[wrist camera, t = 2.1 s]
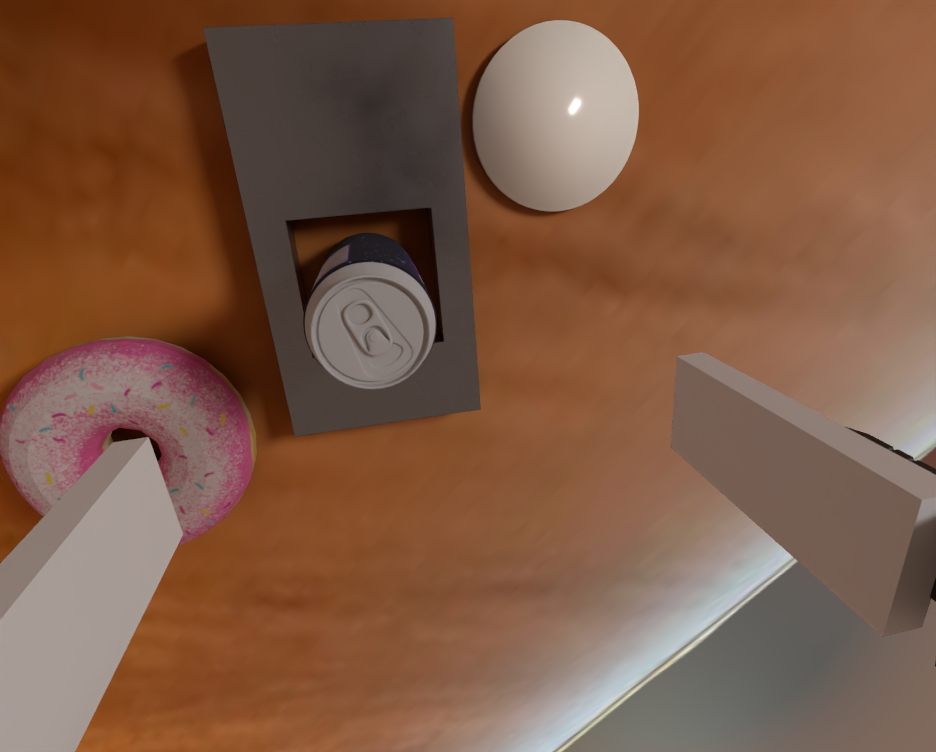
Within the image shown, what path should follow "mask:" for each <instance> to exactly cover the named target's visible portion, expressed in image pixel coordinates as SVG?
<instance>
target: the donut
mask: <svg viewBox="0 0 936 752" xmlns="http://www.w3.org/2000/svg"><path fill="white" fill-rule="evenodd" d="M118 428H126V429H133V430H140V431H142V432H143V433H145V434H146V435H147V436H149V437H150V438H152V439H153V440H155V441H156V442H157V443H158V446H159V448H160V451H161V453H162V455H161V457H160V460H159V461H157V462H158V465H159V468H160V470H161V473H162V476H163V479H164V482H165V484H166V487H167V490H168V493H169V496H170V498H171V501H172V504H173V507H174V510H175V512H176V515H177V518H178V521H179V524H180V527H181V529H182V532H183V536H182V538H181V540H180V542H179V544H178V546H179V545H181V544H183V543H185V542H187V541H189V540H191V539H193V538H195V537H197V536H199V535H201V534H203V533H204V532H206V531H208V530H209V529H210V528H212V527H213V526H214V525H216V524H217V523H218V522H219V521H221V520H222V519H223V518H225V517H226V516H227V514H228V513H229V512H230V511H231V510H232V509H233V507H234V506H235V505H236V504H237V503H238V502H239V500H240V499H241V497H242V495H243V493H244V491H245V489H246V487H247V485H248V484H249V481H250V478H251V475H252V472H253V467H254V463H255V459H256V454H257V453H256V433H255V429H254V425H253V422H252V418H251V415H250V412H249V410H248V409H247V407H246V405H245V403H244V401H243V399H242V397H241V396H240V394H239V392H238V391H237V390H236V389H235V388H234V386H233V385H232V384H231V383H230V382H229V380H228V379H227V378H226V377H225V376H224V375H223V374H222V373H221V372H220V371H218V370H217V369H216V368H215V367H213V366H212V365H211V364H210V363H209V362H207V361H206V360H205V359H203V358H201V357H199V356H198V355H196V354H194V353H192V352H190V351H188V350H186V349H184V348H183V347H180V346H177V345H173V344H170V343H167V342H164V341H160V340H157V339H149V338H140V337H131V336H128V337H114V338H102V339H98V340H94V341H90V342H86V343H82V344H78V345H75V346H73V347H71V348H69V349H67V350H64V351H62V352H60V353H58V354H56V355H54V356H52V357H50V358H48V359H46V360H44V361H42V362H41V363H40V364H39V365H37V366H36V367H35V368H33V369H32V370H31V371H30V372H28V373H27V374H26V375H25V376H23V377H22V378H21V380H20V381H19V382H18V384H17V385H16V386H15V388H14V389H13V390H12V392H11V393H10V394H9V396H8V398H7V401H6V404H5V406H4V409H3V412H2V415H1V419H0V454H1V457H2V461H3V464H4V468H5V470H6V472H7V473H8V475H9V477H10V479H11V480H12V482H13V484H14V486H15V487H16V489H17V490H18V491H19V493H20V494H21V495H22V496H23V497H24V499H25V500H26V501H27V502H28V504H29V505H30V506H31V507H32V508H33V509H34V510H35V511H37V512H38V513H39V514H40V515H41V516H42V517H44V516H45V515H46V514H47V513H48V512H49V511H50V510H51V509H52V507H53V506H54V505H55V504H56V503H57V502H58V501H59V500H60V499H61V498H62V497H63V496H64V494H65V493H66V492H67V491H68V490H69V489H70V488H71V487H72V486H73V485H74V484H75V483H76V482H77V480H78V479H79V478H80V477H81V476H82V475H83V474H84V473H85V472H86V471H87V470H88V469H89V468H90V466H91V465H92V464H93V463H94V462H95V461H96V460H97V459H98V458H99V457H100V456H101V455H102V454H103V452H104V451H105V450H106V449H107V448H108V447H109V446H110V445H111V444H112V443H113V440H112V437H111V434H112V431H113V430H115V429H118Z"/></svg>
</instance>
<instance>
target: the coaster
mask: <svg viewBox="0 0 936 752" xmlns="http://www.w3.org/2000/svg"><path fill="white" fill-rule="evenodd" d="M638 117H639V104H638V96H637V89H636V85H635V81H634V78H633V75H632V73H631V70H630V68H629V66H628V64H627V62H626V60H625V58H624V57H623V55H622V54H621V52H620V51H619V50H618V48H617V47H616V46H615V45H614V44H613V43H612V42H611V41H610V40H609V39H608V38H607V37H605V36H604V35H603V34H602V33H600V32H599V31H597V30H595V29H593V28H592V27H589V26H587V25H584V24H582V23H578V22H573V21H565V20H555V21H547V22H543V23H539V24H536V25H533V26H531V27H529V28H527V29H525V30H523V31H521V32H520V33H518V34H517V35H515V36H514V37H512V38H511V39H510V40H509V41H508V42H507V43H506V44H504V45H503V46H502V47H501V48H500V49H499V51H498V52H497V53H496V54H495V55H494V56H493V58H492V59H491V61H490V62H489V64H488V65H487V67H486V68H485V70H484V72H483V74H482V76H481V78H480V81H479V84H478V87H477V89H476V93H475V98H474V102H473V110H472V133H473V141H474V145H475V149H476V153H477V156H478V158H479V161H480V164H481V165H482V167H483V169H484V171H485V173H486V175H487V176H488V177H489V179H490V180H491V182H492V183H493V184H494V185H495V186H496V187H497V188H498V190H499V191H501V192H502V193H503V194H504V195H505V196H507V197H508V198H509V199H511V200H513V201H514V202H516V203H518V204H520V205H523V206H525V207H528V208H532V209H535V210H541V211H563V210H569V209H572V208H575V207H579V206H581V205H583V204H585V203H587V202H589V201H591V200H592V199H594V198H595V197H597V196H598V195H600V194H601V193H602V192H603V191H604V190H606V189H607V188H608V187H609V185H610V184H611V183H612V182H613V181H614V180H615V179H616V177H617V176H618V175H619V173H620V172H621V170H622V169H623V167H624V165H625V164H626V162H627V160H628V157H629V155H630V153H631V150H632V147H633V144H634V141H635V137H636V132H637V127H638Z"/></svg>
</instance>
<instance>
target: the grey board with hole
mask: <svg viewBox="0 0 936 752" xmlns="http://www.w3.org/2000/svg"><path fill="white" fill-rule="evenodd" d="M203 30H204V34H205V39H206V43H207V47H208V52H209V56H210V61H211V65H212V70H213V74H214V79H215V83H216V88H217V92H218V96H219V101H220V105H221V110H222V114H223V119H224V123H225V128H226V132H227V136H228V141H229V145H230V150H231V154H232V159H233V163H234V168H235V172H236V177H237V181H238V185H239V190H240V194H241V199H242V203H243V208H244V212H245V217H246V221H247V226H248V230H249V234H250V239H251V243H252V248H253V252H254V257H255V261H256V266H257V270H258V275H259V279H260V283H261V288H262V292H263V297H264V301H265V306H266V310H267V315H268V319H269V323H270V328H271V332H272V337H273V341H274V346H275V350H276V355H277V359H278V364H279V368H280V372H281V377H282V381H283V386H284V390H285V395H286V399H287V404H288V408H289V413H290V417H291V421H292V426H293V430H294V435H295V436H302V435H309V434H315V433H322V432H329V431H336V430H343V429H350V428H357V427H363V426H370V425H377V424H384V423H391V422H398V421H404V420H411V419H418V418H425V417H432V416H439V415H445V414H452V413H459V412H466V411H473V410H480V409H481V408H480V394H479V379H478V365H477V351H476V337H475V323H474V309H473V295H472V281H471V267H470V252H469V238H468V224H467V210H466V196H465V182H464V168H463V154H462V139H461V125H460V111H459V97H458V83H457V69H456V55H455V41H454V26H453V18H434V19H409V20H384V21H359V22H334V23H309V24H284V25H259V26H234V27H209V28H203ZM420 208H428V216H429V226H430V236H431V246H432V257H433V267H434V277H435V287H436V298H437V308H438V318H439V328H440V333H436V337H435V341H434V344H433V347H432V349H431V351H430V353H429V355H428V356H427V358H426V359H425V361H424V362H423V363H422V364H421V366H420V367H419V368H418V369H417V370H416V371H415V372H414V373H413V374H412V375H410V376H409V377H408V378H407V379H405V380H403V381H402V382H400V383H398V384H395V385H393V386H390V387H386V388H381V389H362V388H357V387H353V386H350V385H347V384H345V383H343V382H341V381H339V380H337V379H336V378H335V377H333V376H332V375H331V374H330V373H328V372H327V371H326V370H325V369H324V368H323V367H322V366H321V365H320V364H319V363H318V362H317V360H316V359H315V358H314V356H313V354H312V353H311V351H310V349H309V347H308V345H307V342H306V339H305V335H304V328H303V316H304V309H305V305H306V302H307V301H306V296H305V291H304V286H303V281H302V275H301V270H300V265H299V260H298V255H297V250H296V245H295V239H294V234H293V229H292V224H291V220H298V219H309V218H320V217H331V216H342V215H353V214H364V213H375V212H386V211H397V210H408V209H420Z"/></svg>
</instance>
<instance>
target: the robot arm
mask: <svg viewBox="0 0 936 752" xmlns="http://www.w3.org/2000/svg"><path fill="white" fill-rule="evenodd" d="M671 448H672V449H673V450H674V451H675V452H677V453H678V454H679V455H680V456H681V457H682V458H683V459H684V460H686V461H687V462H688V463H689V464H690V465H691V466H692V467H693V468H694V469H696V470H697V471H698V472H699V473H700V474H701V475H702V476H703V477H705V478H706V479H707V480H708V481H709V482H710V483H711V484H712V485H713V486H715V487H716V488H717V489H718V490H719V491H720V492H721V493H722V494H724V495H725V496H726V497H727V498H728V499H729V500H730V501H731V502H733V503H734V504H735V505H736V506H737V507H738V508H739V509H740V510H741V511H743V512H744V513H745V514H746V515H747V516H748V517H749V518H750V519H752V520H753V521H754V522H755V523H756V524H757V525H758V526H759V527H760V528H762V529H763V530H764V531H765V532H766V533H767V534H768V535H769V536H771V537H772V538H773V539H774V540H775V541H776V542H777V543H778V544H779V545H781V546H782V547H783V548H784V549H785V550H786V551H787V552H788V553H790V554H791V555H792V556H793V557H794V558H795V559H796V560H797V561H799V562H800V563H801V564H802V565H803V566H804V567H805V568H806V569H807V570H809V571H810V572H811V573H812V574H813V575H814V576H815V577H816V578H818V579H819V580H820V581H821V582H822V583H823V584H824V585H825V586H826V587H828V588H829V589H830V590H831V591H832V592H833V593H835V594H836V595H837V596H838V597H839V598H840V599H841V600H842V601H843V602H844V603H846V604H847V605H848V606H849V607H850V608H851V609H852V610H853V611H854V612H856V613H857V614H858V615H859V616H860V617H861V618H862V619H863V620H865V621H866V622H867V623H868V624H869V625H870V626H871V627H873V628H874V629H875V630H876V631H877V632H878V633H879V634H880V635H881V636H882V637H884V636H888V635H892V634H896V633H900V632H904V631H908V630H912V629H916V628H920V627H922V625H923V622H924V619H925V616H926V613H927V610H928V607H929V604H930V600H931V598H932V599H933V600H934V601H936V469H935V468H932V467H931V466H929V465H927V464H925V463H923V462H921V461H919V460H917V461H915V460H914V459H913V457H911V456H910V455H908V454H906V453H904V452H902V451H900V450H894V449H893V447H892V446H890V445H888V444H886V443H884V442H883V441H881V440H879V439H877V438H875V437H873V436H871V435H869V434H866V433H863V432H860V431H857V430H854V429H851V428H847V427H844V426H842V425H840V424H839V423H837V422H835V421H833V420H831V419H829V418H827V417H825V416H823V415H821V414H820V413H818V412H816V411H814V410H812V409H810V408H808V407H806V406H804V405H803V404H801V403H799V402H797V401H795V400H793V399H791V398H789V397H787V396H785V395H784V394H782V393H780V392H778V391H776V390H774V389H772V388H770V387H768V386H767V385H765V384H763V383H761V382H759V381H757V380H755V379H753V378H751V377H750V376H748V375H746V374H744V373H742V372H740V371H738V370H736V369H734V368H732V367H731V366H729V365H727V364H725V363H723V362H721V361H719V360H717V359H715V358H714V357H712V356H710V355H708V354H706V353H704V352H701V353H695V354H688V355H682V356H677V362H676V377H675V391H674V406H673V420H672V435H671ZM182 536H183V532H182V529H181V527H180V524H179V521H178V518H177V515H176V512H175V510H174V507H173V504H172V501H171V498H170V496H169V493H168V490H167V487H166V484H165V482H164V479H163V476H162V473H161V470H160V468H159V465H158V462H157V459H156V456H155V454H154V451H153V448H152V445H151V442H150V439H149V437H145V438H138V439H132V440H125V441H119V442H113V443H112V444H111V445H110V446H109V447H108V448H107V449H106V450H105V451H104V452H103V454H102V455H101V456H100V457H99V458H98V459H97V460H96V461H95V462H94V463H93V464H92V465H91V466H90V468H89V469H88V470H87V471H86V472H85V473H84V474H83V475H82V476H81V477H80V478H79V479H78V480H77V482H76V483H75V484H74V485H73V486H72V487H71V488H70V489H69V490H68V491H67V492H66V493H65V494H64V496H63V497H62V498H61V499H60V500H59V501H58V502H57V503H56V504H55V505H54V506H53V507H52V509H51V510H50V511H49V512H48V513H47V514H46V515H45V516H44V517H43V518H42V519H41V520H40V521H39V523H38V524H37V525H36V526H35V527H34V528H33V529H32V530H31V531H30V532H29V533H28V534H27V535H26V537H25V538H24V539H23V540H22V541H21V542H20V543H19V544H18V545H17V546H16V547H15V548H14V549H13V551H12V552H11V553H10V554H9V555H8V556H7V557H6V558H5V559H4V560H3V561H2V562H1V563H0V752H75V751H76V749H77V747H78V745H79V743H80V741H81V739H82V737H83V735H84V733H85V731H86V729H87V727H88V725H89V723H90V721H91V719H92V717H93V715H94V713H95V711H96V709H97V707H98V705H99V703H100V701H101V699H102V697H103V695H104V692H105V690H106V688H107V686H108V684H109V682H110V680H111V678H112V676H113V674H114V672H115V670H116V668H117V666H118V664H119V662H120V660H121V658H122V656H123V654H124V652H125V650H126V648H127V646H128V644H129V642H130V640H131V638H132V636H133V634H134V632H135V630H136V628H137V626H138V624H139V622H140V620H141V618H142V616H143V614H144V612H145V610H146V608H147V606H148V604H149V602H150V600H151V598H152V596H153V594H154V592H155V590H156V588H157V586H158V584H159V582H160V580H161V578H162V576H163V574H164V572H165V570H166V568H167V566H168V564H169V562H170V560H171V558H172V556H173V554H174V552H175V550H176V548H177V546H178V544H179V542H180V540H181V538H182ZM935 666H936V664H935Z"/></svg>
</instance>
